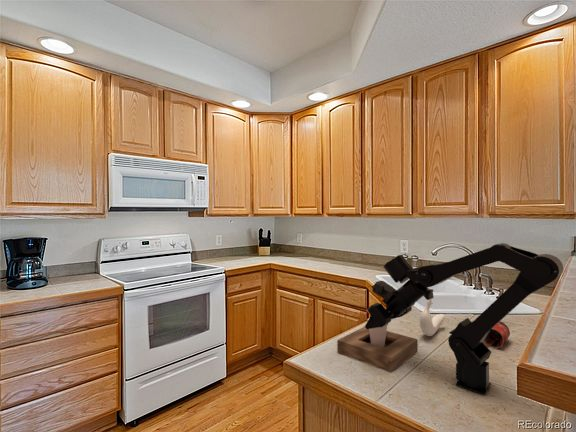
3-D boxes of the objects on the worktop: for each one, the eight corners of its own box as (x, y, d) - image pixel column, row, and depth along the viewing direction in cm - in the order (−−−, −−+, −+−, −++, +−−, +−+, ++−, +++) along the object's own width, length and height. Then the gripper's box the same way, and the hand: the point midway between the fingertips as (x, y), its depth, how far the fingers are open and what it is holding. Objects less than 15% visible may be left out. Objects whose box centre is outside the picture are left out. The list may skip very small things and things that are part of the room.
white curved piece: (445, 328, 118) (445, 290, 118) (431, 344, 104) (431, 301, 104) (431, 325, 121) (431, 288, 121) (416, 341, 107) (416, 298, 107)
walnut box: (417, 351, 98) (417, 339, 98) (391, 372, 85) (391, 357, 85) (366, 336, 111) (366, 325, 111) (337, 352, 98) (337, 340, 98)
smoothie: (378, 345, 102) (378, 302, 102) (393, 352, 97) (392, 307, 97) (363, 349, 99) (362, 305, 99) (377, 357, 94) (377, 310, 94)
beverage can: (512, 341, 106) (511, 321, 106) (503, 352, 98) (503, 331, 98) (487, 335, 112) (487, 317, 112) (478, 345, 103) (477, 325, 103)
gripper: (401, 269, 102) (371, 297, 110) (373, 278, 89) (341, 308, 96) (426, 298, 97) (393, 325, 104) (400, 311, 83) (364, 341, 91)
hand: (373, 324), depth 99 cm, fingers open, 9 cm apart
